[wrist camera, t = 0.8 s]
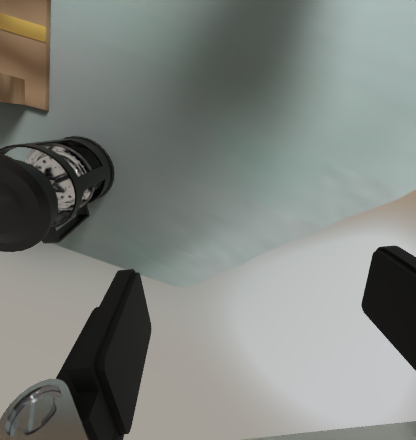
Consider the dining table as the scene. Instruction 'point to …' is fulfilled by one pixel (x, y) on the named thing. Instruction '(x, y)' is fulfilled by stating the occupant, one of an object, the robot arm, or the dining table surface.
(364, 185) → the dining table surface
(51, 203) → the french press
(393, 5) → the dining table surface
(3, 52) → the pipe stand
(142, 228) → the dining table surface
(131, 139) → the dining table surface
